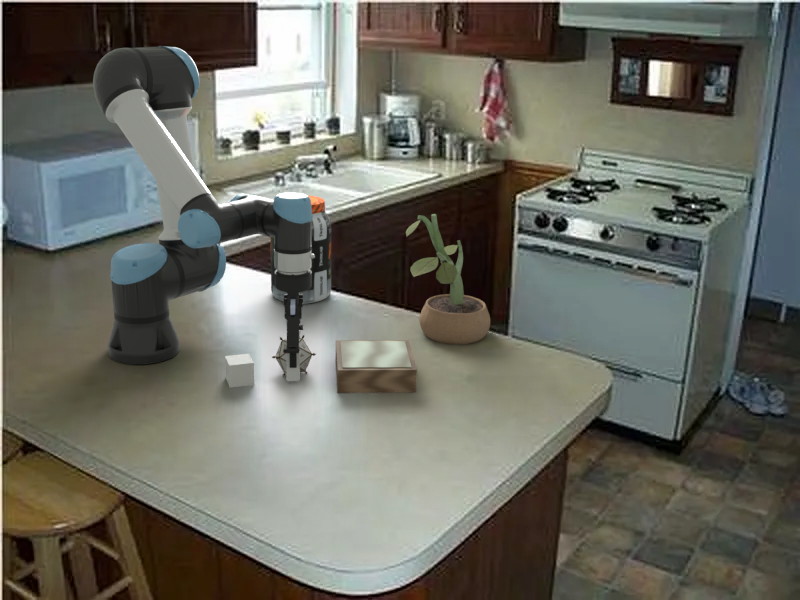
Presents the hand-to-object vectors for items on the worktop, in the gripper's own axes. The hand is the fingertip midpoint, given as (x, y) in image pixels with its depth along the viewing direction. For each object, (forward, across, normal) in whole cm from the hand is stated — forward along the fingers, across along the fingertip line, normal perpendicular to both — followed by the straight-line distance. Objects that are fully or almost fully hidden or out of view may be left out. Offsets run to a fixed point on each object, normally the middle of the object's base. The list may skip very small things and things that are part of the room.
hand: (293, 369), depth 191 cm
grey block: (+1, -4, +11) cm, 12 cm away
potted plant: (+1, +22, -35) cm, 41 cm away
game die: (+1, 0, 0) cm, 1 cm away
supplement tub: (+1, +50, -1) cm, 50 cm away
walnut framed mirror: (+1, -2, -17) cm, 17 cm away
